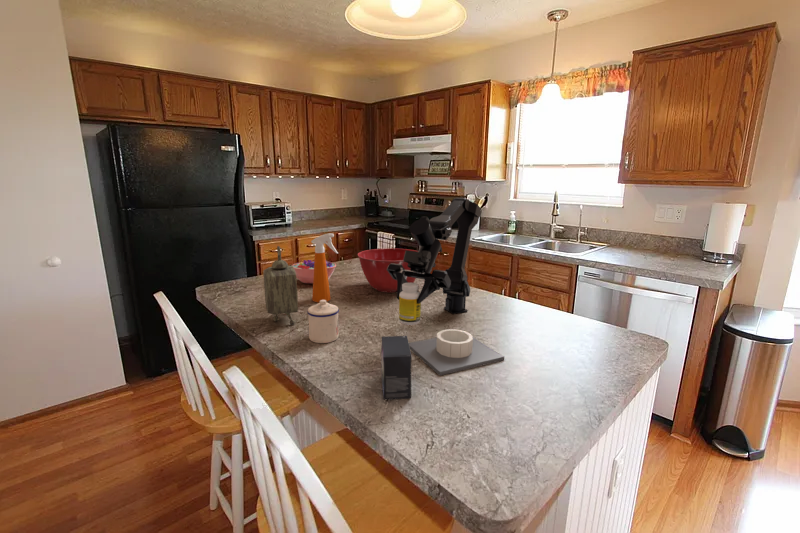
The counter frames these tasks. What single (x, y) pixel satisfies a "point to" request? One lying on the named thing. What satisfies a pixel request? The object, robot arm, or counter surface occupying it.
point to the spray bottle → (321, 268)
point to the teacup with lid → (323, 322)
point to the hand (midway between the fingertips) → (407, 300)
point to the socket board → (454, 362)
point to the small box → (396, 367)
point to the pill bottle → (409, 304)
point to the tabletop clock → (280, 288)
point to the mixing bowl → (382, 267)
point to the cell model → (310, 270)
